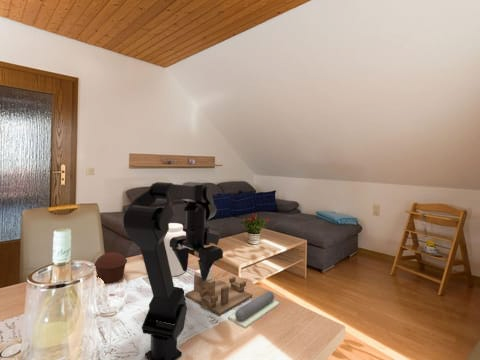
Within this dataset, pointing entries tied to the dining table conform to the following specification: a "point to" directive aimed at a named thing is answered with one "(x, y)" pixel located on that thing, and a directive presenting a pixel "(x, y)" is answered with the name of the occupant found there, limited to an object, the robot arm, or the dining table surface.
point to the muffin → (110, 267)
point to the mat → (254, 314)
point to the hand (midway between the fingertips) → (194, 275)
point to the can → (174, 264)
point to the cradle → (218, 294)
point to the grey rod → (254, 305)
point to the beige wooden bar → (207, 276)
